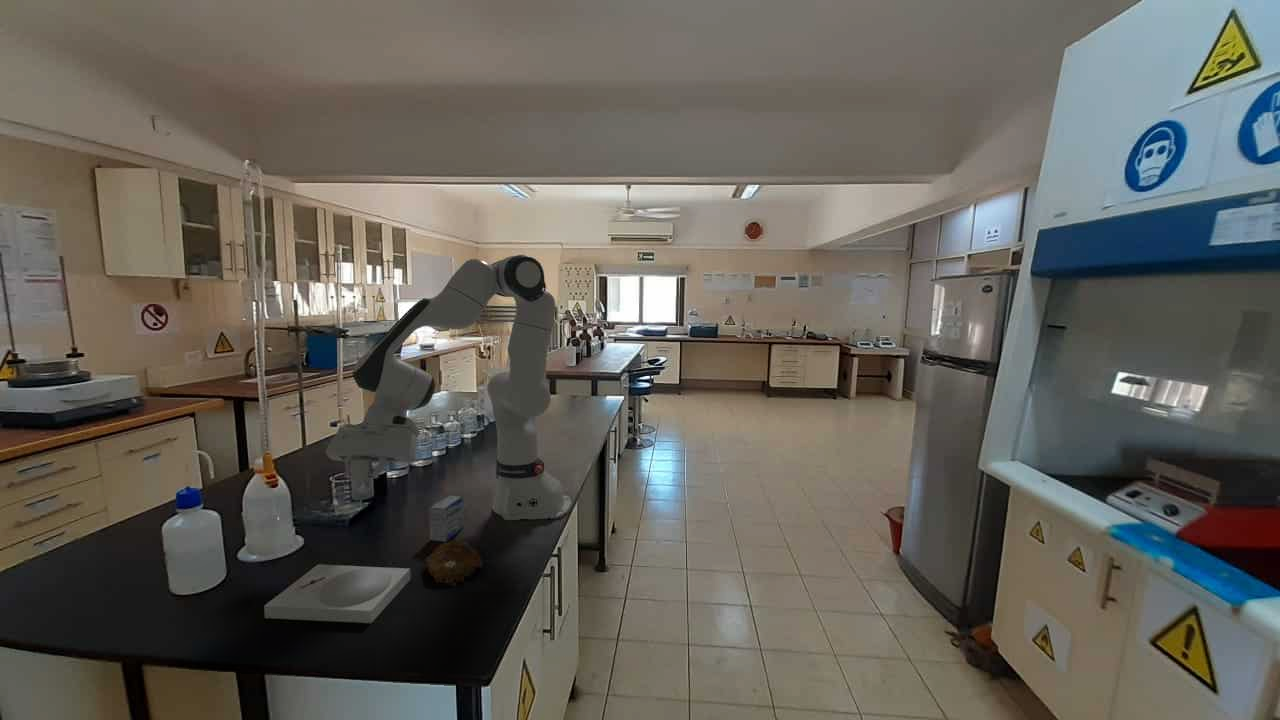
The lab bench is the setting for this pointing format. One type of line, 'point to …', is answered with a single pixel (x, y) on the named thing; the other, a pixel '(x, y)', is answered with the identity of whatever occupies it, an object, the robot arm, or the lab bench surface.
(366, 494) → the cylinder
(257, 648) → the lab bench surface
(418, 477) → the lab bench surface
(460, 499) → the medicine box
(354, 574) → the white shallow tray
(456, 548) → the decorative rock
